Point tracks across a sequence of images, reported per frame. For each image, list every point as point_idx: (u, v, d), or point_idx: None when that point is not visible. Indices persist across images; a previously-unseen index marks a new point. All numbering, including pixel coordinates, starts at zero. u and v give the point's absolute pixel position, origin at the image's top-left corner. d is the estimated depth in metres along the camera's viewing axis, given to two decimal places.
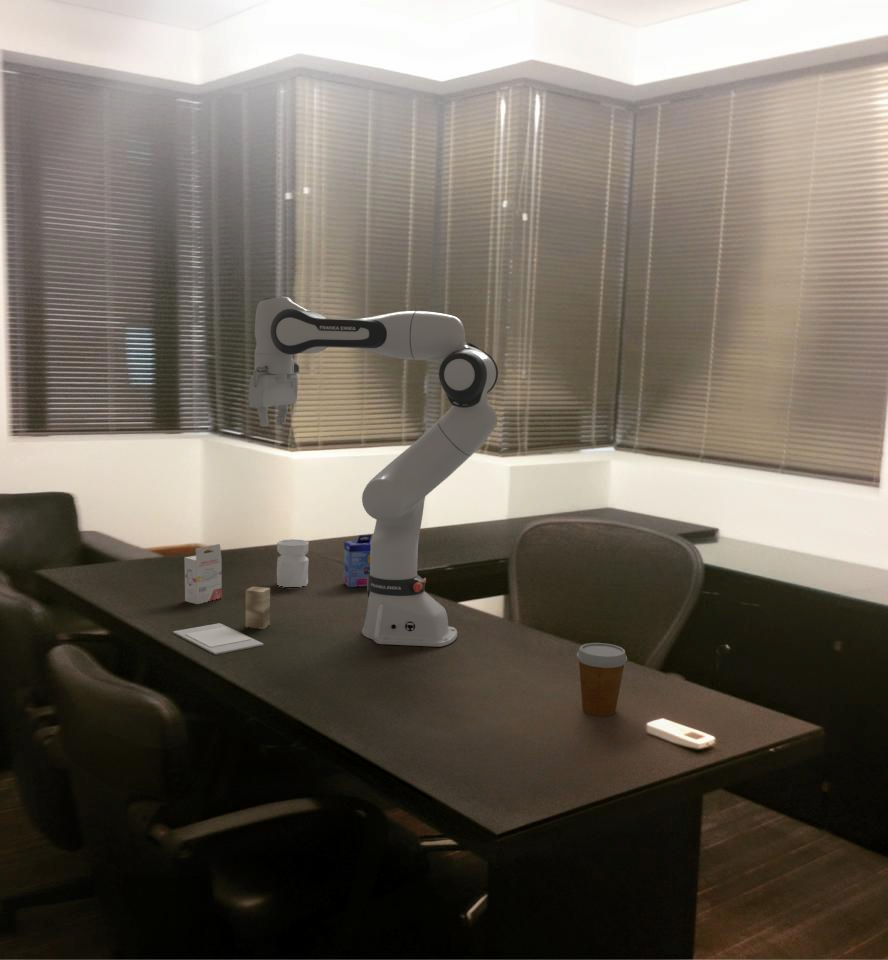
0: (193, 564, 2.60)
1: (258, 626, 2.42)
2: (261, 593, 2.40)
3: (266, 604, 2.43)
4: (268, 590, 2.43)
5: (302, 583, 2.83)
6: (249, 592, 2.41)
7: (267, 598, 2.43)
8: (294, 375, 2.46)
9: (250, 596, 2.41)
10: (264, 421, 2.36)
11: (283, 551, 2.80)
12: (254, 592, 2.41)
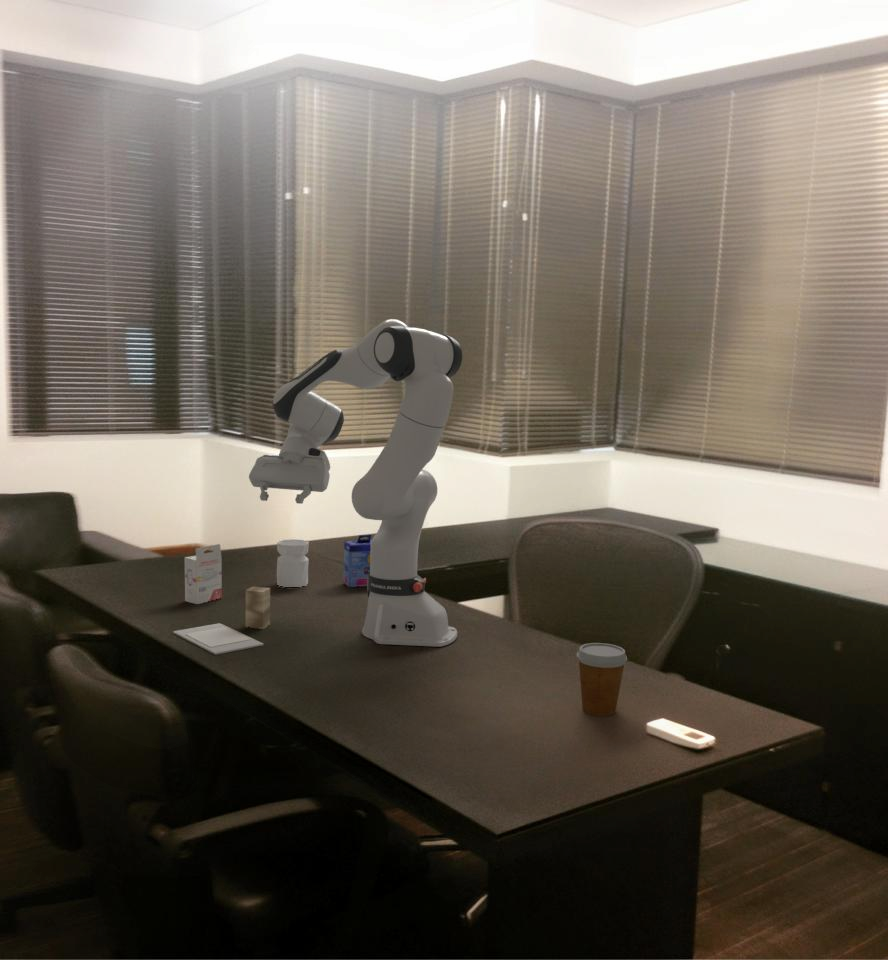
0: (193, 564, 2.60)
1: (258, 626, 2.42)
2: (261, 593, 2.40)
3: (266, 604, 2.43)
4: (268, 590, 2.43)
5: (302, 583, 2.83)
6: (249, 592, 2.41)
7: (267, 598, 2.43)
8: (314, 459, 2.56)
9: (250, 596, 2.41)
10: None
11: (283, 551, 2.80)
12: (254, 592, 2.41)
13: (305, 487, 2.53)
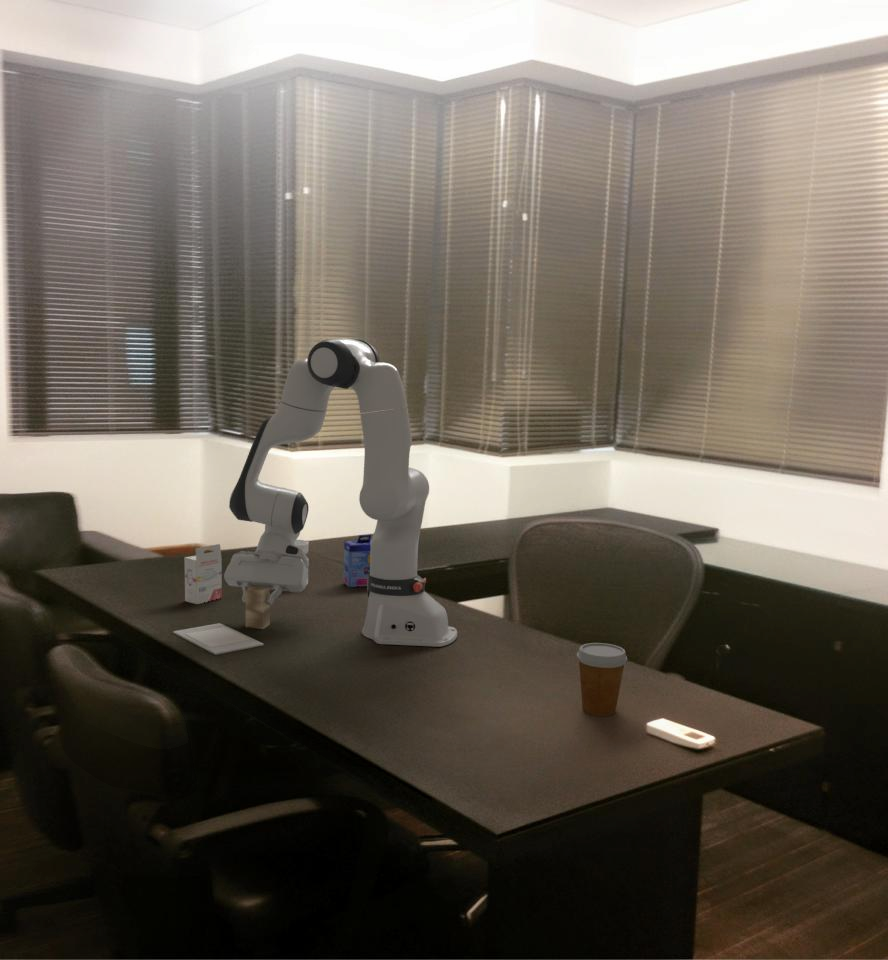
0: (193, 564, 2.60)
1: (258, 626, 2.42)
2: (261, 593, 2.40)
3: (266, 604, 2.43)
4: (268, 590, 2.43)
5: None
6: (249, 592, 2.41)
7: None
8: (292, 557, 2.46)
9: (250, 596, 2.41)
10: None
11: None
12: (254, 592, 2.41)
13: (275, 587, 2.43)
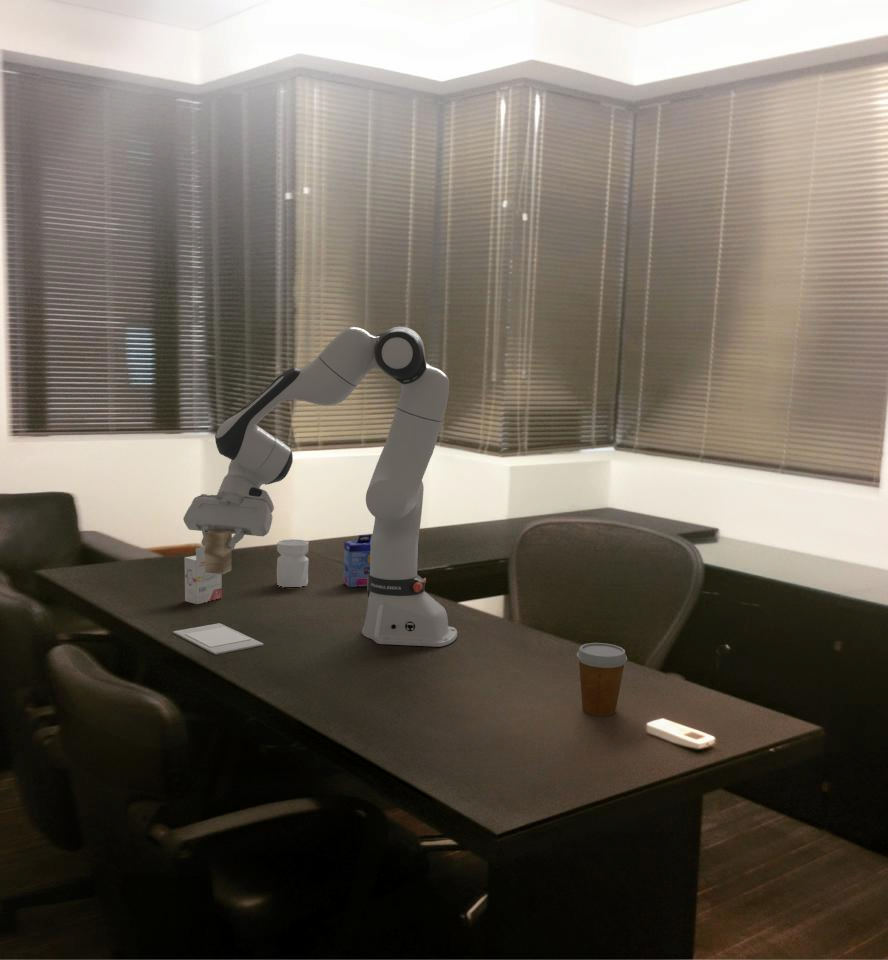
0: (193, 564, 2.60)
1: (218, 571, 2.28)
2: (221, 536, 2.27)
3: None
4: (229, 533, 2.30)
5: (302, 583, 2.83)
6: (209, 535, 2.28)
7: None
8: (255, 499, 2.32)
9: (210, 539, 2.28)
10: None
11: (283, 551, 2.80)
12: (214, 535, 2.28)
13: (237, 531, 2.30)
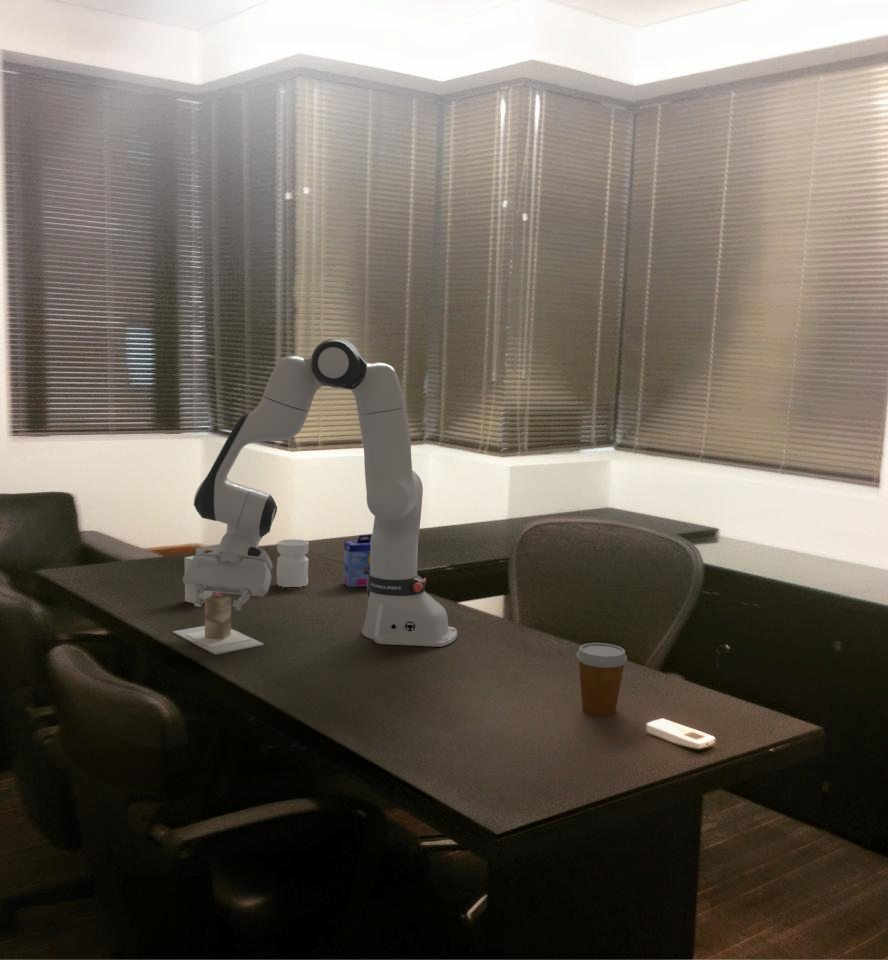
0: None
1: (218, 637, 2.30)
2: (221, 602, 2.29)
3: (226, 614, 2.31)
4: (229, 599, 2.32)
5: (302, 583, 2.83)
6: (208, 601, 2.29)
7: (227, 607, 2.31)
8: (254, 559, 2.34)
9: (209, 605, 2.30)
10: None
11: (283, 551, 2.80)
12: (213, 601, 2.29)
13: (243, 592, 2.31)
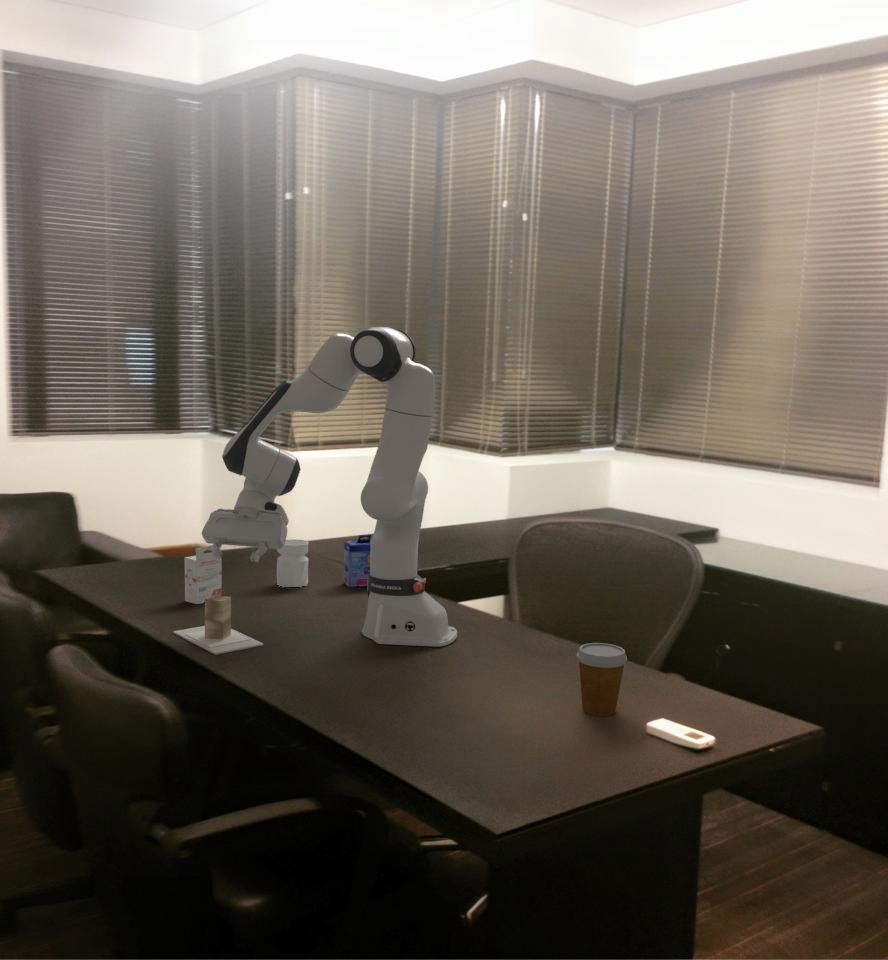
0: (193, 564, 2.60)
1: (218, 637, 2.30)
2: (221, 602, 2.29)
3: (226, 614, 2.31)
4: (229, 599, 2.32)
5: (302, 583, 2.83)
6: (208, 601, 2.29)
7: (227, 607, 2.31)
8: (271, 513, 2.42)
9: (209, 605, 2.30)
10: None
11: (283, 551, 2.80)
12: (213, 601, 2.29)
13: (260, 544, 2.38)
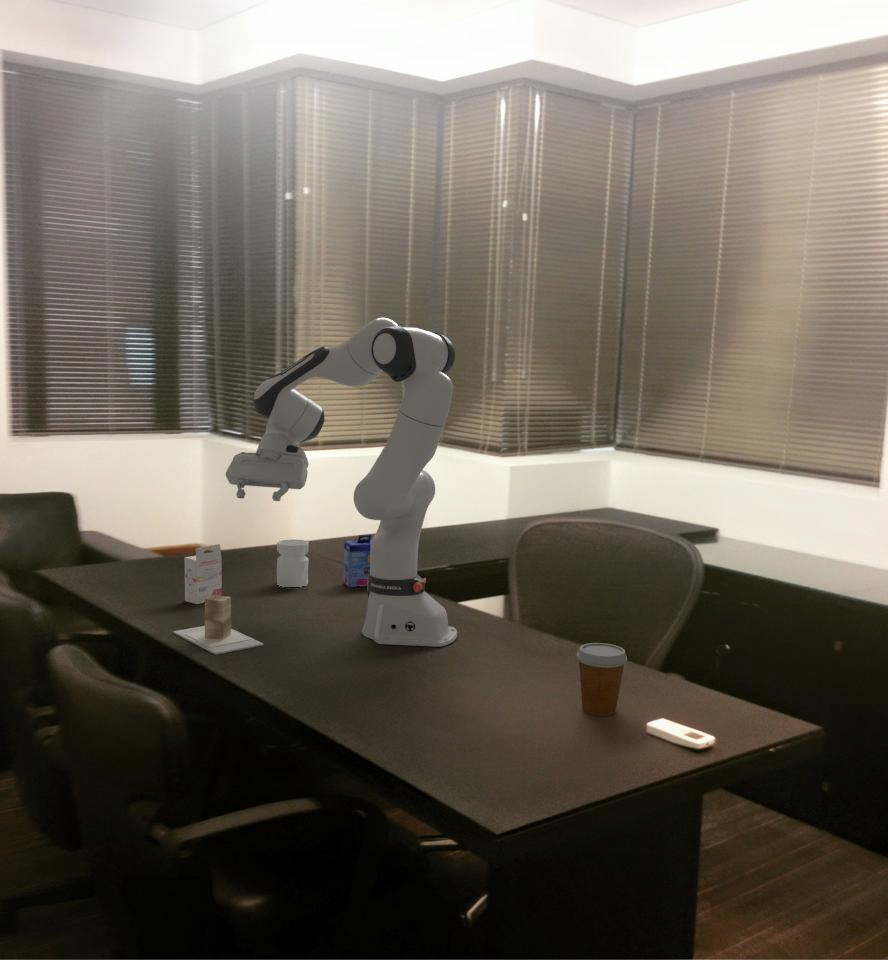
0: (193, 564, 2.60)
1: (218, 637, 2.30)
2: (221, 602, 2.29)
3: (226, 614, 2.31)
4: (229, 599, 2.32)
5: (302, 583, 2.83)
6: (208, 601, 2.29)
7: (227, 607, 2.31)
8: (292, 455, 2.52)
9: (209, 605, 2.30)
10: None
11: (283, 551, 2.80)
12: (213, 601, 2.29)
13: (282, 484, 2.49)
